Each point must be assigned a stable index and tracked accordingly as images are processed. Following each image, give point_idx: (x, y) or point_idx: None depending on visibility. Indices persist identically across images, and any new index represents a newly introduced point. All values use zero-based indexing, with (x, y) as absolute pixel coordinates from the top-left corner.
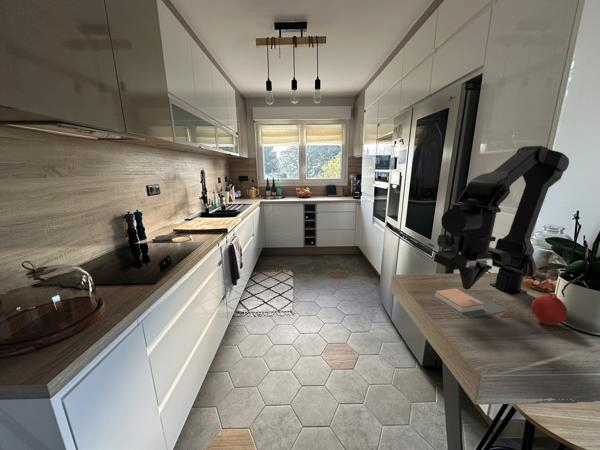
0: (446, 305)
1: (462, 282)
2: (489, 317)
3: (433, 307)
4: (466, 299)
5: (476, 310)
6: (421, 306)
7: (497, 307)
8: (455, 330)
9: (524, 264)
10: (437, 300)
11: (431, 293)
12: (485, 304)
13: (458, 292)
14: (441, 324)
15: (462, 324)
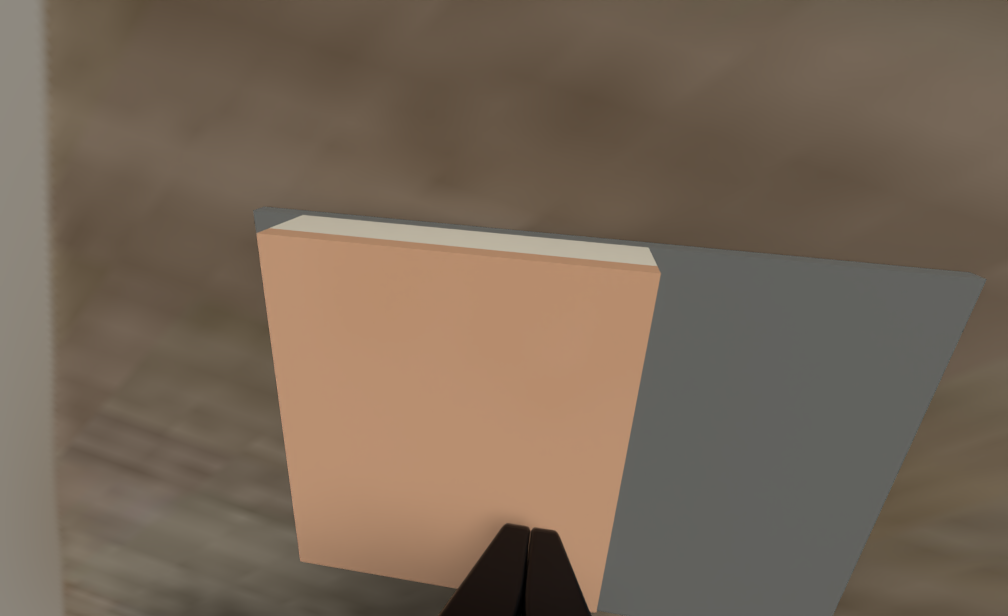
0: None
1: (456, 598)
2: None
3: (172, 348)
4: (483, 508)
5: None
6: (65, 296)
7: (782, 594)
8: (153, 578)
9: None
10: None
11: (357, 98)
12: (727, 528)
13: (561, 371)
14: (99, 514)
15: (248, 566)
